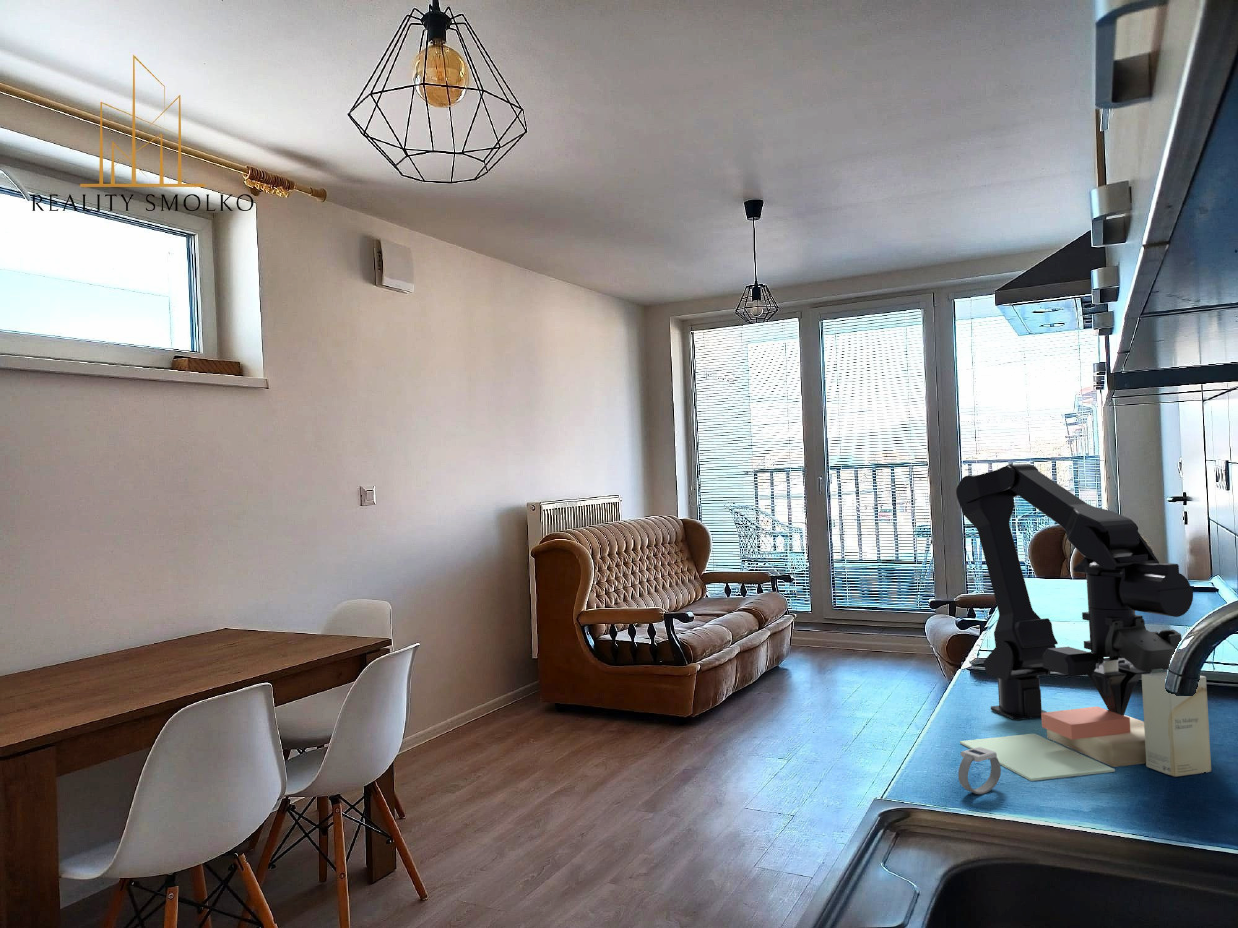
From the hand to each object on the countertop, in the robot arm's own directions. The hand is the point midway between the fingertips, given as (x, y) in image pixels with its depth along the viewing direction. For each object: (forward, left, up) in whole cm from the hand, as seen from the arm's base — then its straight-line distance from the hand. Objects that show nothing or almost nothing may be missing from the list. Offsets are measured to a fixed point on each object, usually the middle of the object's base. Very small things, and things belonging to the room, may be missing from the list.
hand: (1117, 718), depth 119 cm
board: (0, -1, -4) cm, 4 cm away
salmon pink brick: (0, -5, 0) cm, 5 cm away
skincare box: (+9, +1, -4) cm, 10 cm away
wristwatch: (+9, -27, -4) cm, 29 cm away
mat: (0, -13, -4) cm, 14 cm away
